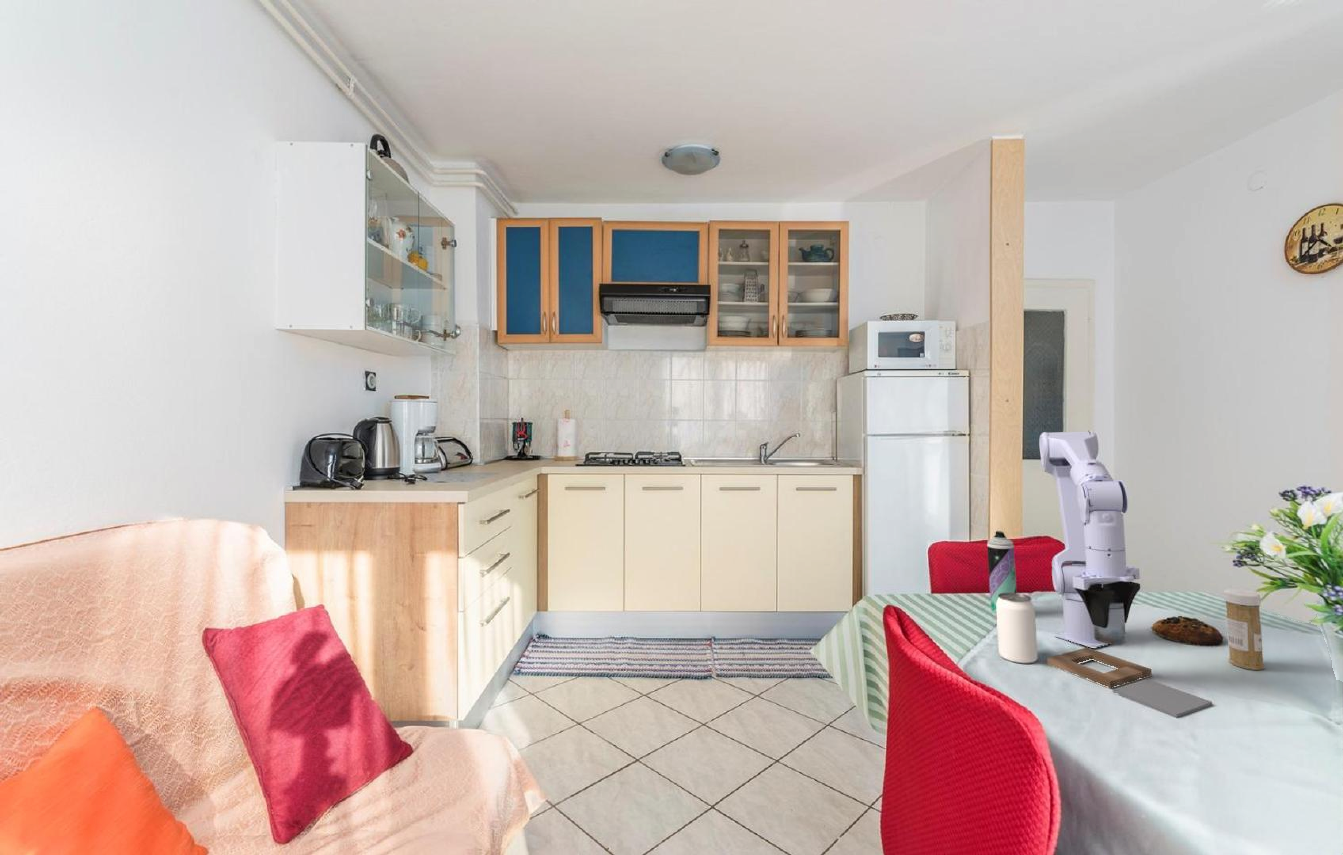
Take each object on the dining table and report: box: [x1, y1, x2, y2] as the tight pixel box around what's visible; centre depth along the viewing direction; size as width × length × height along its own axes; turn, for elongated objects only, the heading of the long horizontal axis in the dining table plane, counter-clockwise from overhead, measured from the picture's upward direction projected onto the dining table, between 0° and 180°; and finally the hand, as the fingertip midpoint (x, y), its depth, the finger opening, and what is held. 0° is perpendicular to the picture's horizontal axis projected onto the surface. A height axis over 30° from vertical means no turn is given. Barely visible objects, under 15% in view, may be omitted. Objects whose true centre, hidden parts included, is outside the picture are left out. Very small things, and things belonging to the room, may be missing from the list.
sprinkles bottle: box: [1223, 588, 1265, 671], centre depth 100 cm, size 5×5×14 cm
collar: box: [1046, 647, 1153, 689], centre depth 101 cm, size 11×11×1 cm
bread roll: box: [1150, 615, 1224, 647], centre depth 114 cm, size 11×11×5 cm
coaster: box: [1112, 678, 1213, 719], centre depth 90 cm, size 9×9×1 cm
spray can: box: [986, 530, 1017, 618], centre depth 131 cm, size 6×6×20 cm
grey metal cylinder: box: [1093, 598, 1127, 646], centre depth 99 cm, size 4×4×7 cm
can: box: [996, 592, 1038, 665], centre depth 108 cm, size 6×6×12 cm
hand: (1109, 623), depth 98 cm, fingers closed on grey metal cylinder, 4 cm apart
